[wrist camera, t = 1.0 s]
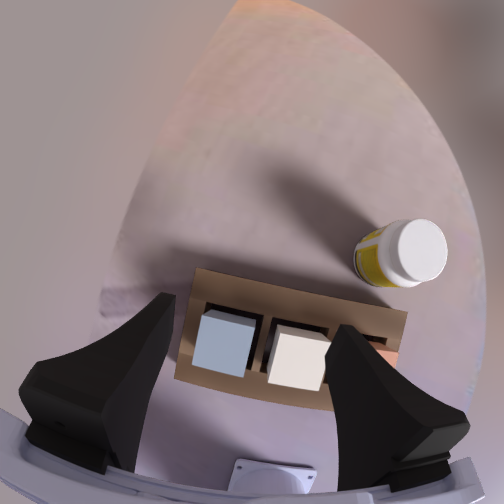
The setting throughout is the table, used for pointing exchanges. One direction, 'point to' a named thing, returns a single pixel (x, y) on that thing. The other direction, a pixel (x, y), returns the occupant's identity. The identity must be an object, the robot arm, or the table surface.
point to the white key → (297, 358)
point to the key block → (269, 305)
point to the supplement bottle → (401, 254)
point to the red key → (386, 353)
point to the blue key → (224, 342)
